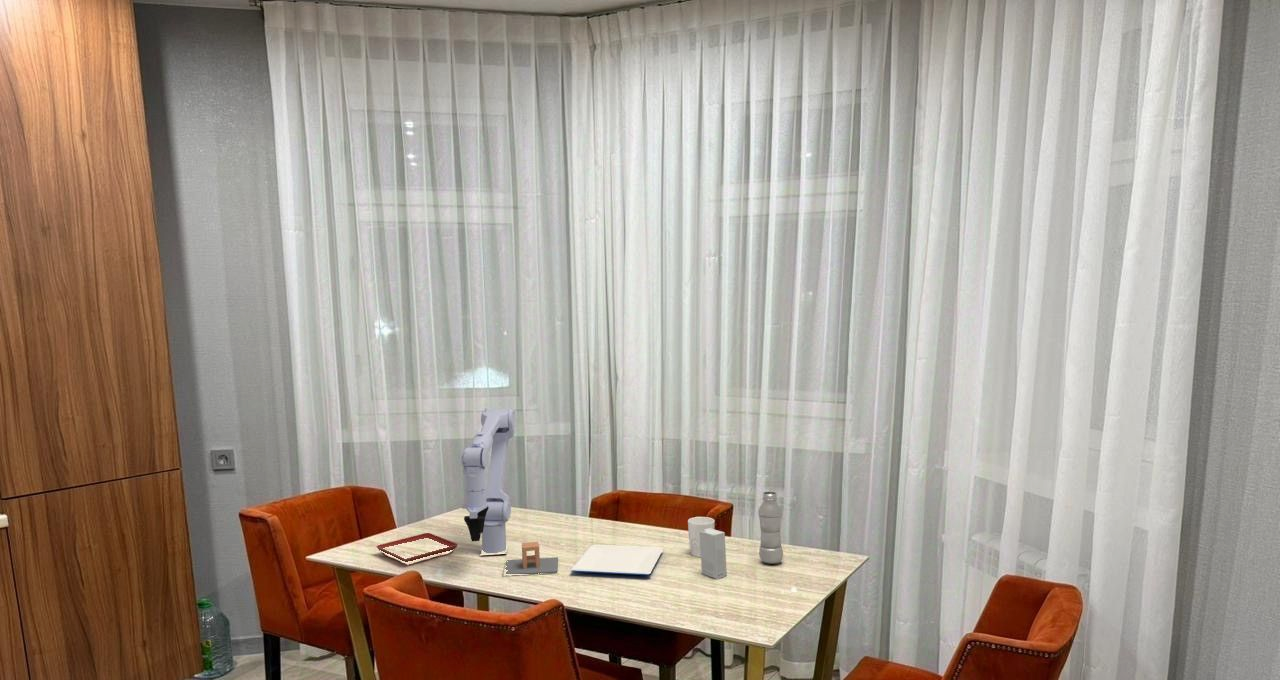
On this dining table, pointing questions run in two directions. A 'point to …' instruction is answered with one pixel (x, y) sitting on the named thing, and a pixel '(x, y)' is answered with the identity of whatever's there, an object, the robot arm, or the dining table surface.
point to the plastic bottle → (770, 529)
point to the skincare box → (713, 553)
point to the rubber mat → (532, 566)
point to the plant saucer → (417, 537)
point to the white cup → (694, 528)
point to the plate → (618, 559)
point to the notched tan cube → (533, 558)
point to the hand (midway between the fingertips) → (477, 536)
